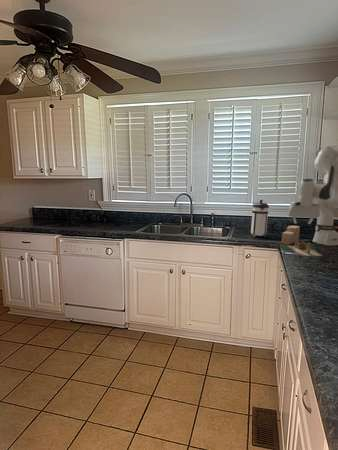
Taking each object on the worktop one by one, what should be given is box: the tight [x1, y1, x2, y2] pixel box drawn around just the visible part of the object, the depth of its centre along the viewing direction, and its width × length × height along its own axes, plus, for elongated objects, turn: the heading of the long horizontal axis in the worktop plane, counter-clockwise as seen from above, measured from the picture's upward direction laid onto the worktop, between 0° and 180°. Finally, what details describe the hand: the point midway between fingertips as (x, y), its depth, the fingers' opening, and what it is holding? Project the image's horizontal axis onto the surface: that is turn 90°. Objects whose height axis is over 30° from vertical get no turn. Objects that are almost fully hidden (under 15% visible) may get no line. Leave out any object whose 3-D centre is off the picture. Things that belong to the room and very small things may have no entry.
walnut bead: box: [293, 241, 308, 249], centre depth 213 cm, size 6×6×4 cm
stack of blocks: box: [280, 224, 301, 246], centre depth 232 cm, size 21×6×12 cm, turn 141°
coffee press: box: [249, 199, 270, 239], centre depth 252 cm, size 17×16×30 cm
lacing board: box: [287, 242, 324, 259], centre depth 206 cm, size 14×24×8 cm, turn 1°
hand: (302, 223), depth 209 cm, fingers open, 8 cm apart
